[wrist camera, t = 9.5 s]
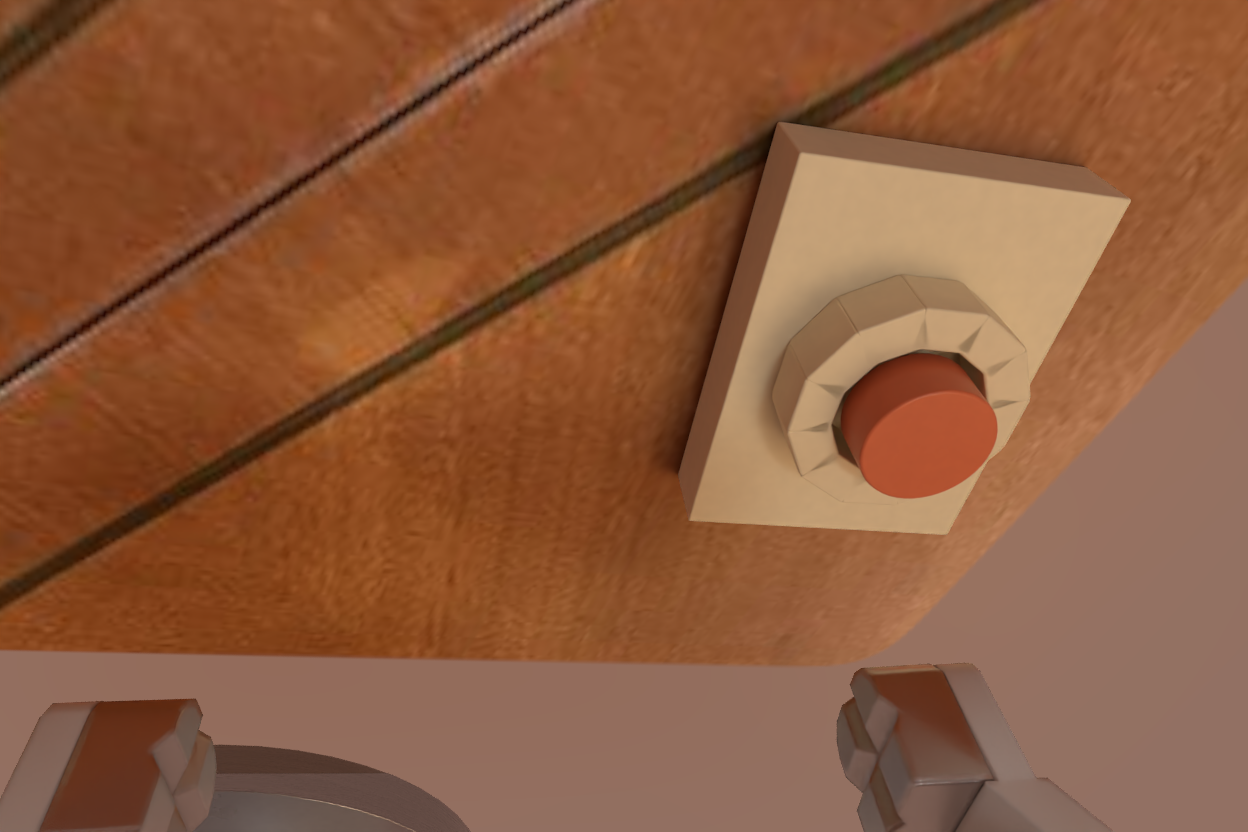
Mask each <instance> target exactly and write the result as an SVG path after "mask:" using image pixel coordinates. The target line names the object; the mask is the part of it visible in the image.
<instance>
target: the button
mask: <svg viewBox="0 0 1248 832" xmlns="http://www.w3.org/2000/svg"><path fill="white" fill-rule="evenodd" d="M841 430H842V433H843V436H844V439H845V441H846V443H847V445H848V447H849V449H850V451H851V453H852V455H853V457H854V459H855V461H856V463H857V465H858V467H859V469H860V471H861V473H862V475H863V477H864V478H865V480H866V481H867V482H868V484H869V485H870V486H872V487H873V488H874V489H876V490H877V491H879V492H881V493H883V494H885V495H888V496H891V497H895V498H903V499H914V498H922V497H928V496H932V495H935V494H939V493H941V492H944V491H946V490H949V489H951V488H953V487H955V486H956V485H958V484H960V483H962V482H963V481H964V480H966V479H967V478H969V477H970V476H971V475H972V474H974V473H975V472H976V471H977V470H978V469H979V468H980V467H981V466H982V465H983V463H984V462H985V461H986V460H987V458H988V456H989V455H990V453H991V452H992V449H993V447H994V445H995V442H996V439H997V432H998V425H997V418H996V415H995V413H994V410H993V409H992V407H991V406H990V404H989V403H988V402H987V400H986V399H985V398H984V396H983V395H982V394H981V392H980V391H979V389H978V388H977V387H976V385H975V384H974V383H973V381H972V380H971V379H970V377H969V376H968V375H967V373H966V372H965V370H964V369H963V368H962V367H961V366H960V365H959V364H957V363H956V362H954V361H953V360H951V359H949V358H947V357H943V356H940V355H936V354H930V353H917V354H909V355H904V356H901V357H897V358H894V359H892V360H889V361H887V362H885V363H883V364H881V365H879V366H877V367H876V368H874V369H873V370H871V371H870V372H869V373H867V374H866V375H865V376H864V377H863V378H862V379H861V380H860V381H859V382H857V384H856V385H855V386H854V387H853V389H852V390H851V392H850V393H849V395H848V396H847V398H846V400H845V402H844V405H843V408H842V413H841Z"/></svg>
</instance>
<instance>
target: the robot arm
mask: <svg viewBox="0 0 1248 832" xmlns="http://www.w3.org/2000/svg"><path fill="white" fill-rule="evenodd" d="M850 686H851V689H852V692H853V695H854V697H853V698H852V699H850V700H849V701H848V702H846V703H845V704H843V705H842V707H841V710H840V713H839V717H838V720H837V746H838V751H839V756H840V760H841V764H842V767H843V770H844V773H845V776H846V778H847V779H848V780H849V781H850V782H851V783H852V784H854V785H855V786H856V787H857V788H858V789H859V790H860V791H861V792H862V793H863V794H862V797H861V800H860V803H859V806H858V809H857V812H858V815H859V818H860V821H861V824H862V827H863V830H864V832H1114V831H1113V830H1112V829H1110V828H1109V827H1108V826H1107V825H1106V824H1104V823H1103V822H1102V821H1101V820H1099V819H1098V818H1097V817H1096V816H1094V815H1093V814H1092V813H1090V812H1089V811H1088V810H1087V809H1086V808H1084V807H1083V806H1082V805H1080V804H1079V803H1078V802H1077V801H1076V800H1074V799H1073V798H1072V797H1071V796H1069V795H1068V794H1067V793H1065V792H1064V791H1063V790H1062V789H1061V788H1059V787H1058V786H1057V785H1056V784H1054V783H1053V782H1052V781H1051V780H1049V779H1048V778H1036V776H1035V775H1034V773H1033V771H1032V769H1031V767H1030V765H1029V763H1028V761H1027V759H1026V757H1025V756H1024V754H1023V752H1022V750H1021V748H1020V746H1019V744H1018V742H1017V740H1016V738H1015V736H1014V735H1013V733H1012V731H1011V729H1010V727H1009V725H1008V723H1007V721H1006V719H1005V718H1004V716H1003V714H1002V712H1001V710H1000V708H999V707H998V704H997V702H996V701H995V699H994V697H993V695H992V693H991V691H990V689H989V687H988V686H987V683H986V682H985V680H984V678H983V676H982V674H981V672H980V670H978V669H977V668H976V667H975V666H974V665H973V664H969V663H955V664H939V665H931V664H918V665H903V666H886V667H870V668H861V669H859V670H858V671H856V672H855V673H854V676H853V678H852V681H851V683H850ZM202 716H203V714H202V712H201V710H200V707H199V705H198V702H197V700H196V699H172V700H139V701H111V702H104V701H96V702H73V703H53V704H52V705H51V706H50V707H49V708H48V709H47V710H46V712H45V713H44V714H43V715H42V716H41V717H40V718H39V720H38V722H37V724H36V726H35V728H34V730H33V732H32V734H31V737H30V739H29V741H28V743H27V745H26V747H25V749H24V751H23V753H22V755H21V757H20V759H19V762H18V764H17V765H16V767H15V769H14V772H13V774H12V776H11V778H10V780H9V782H8V784H7V786H6V788H5V790H4V792H3V794H2V796H1V798H0V832H193V831H194V830H195V829H196V828H197V827H198V826H199V825H200V824H201V823H202V822H203V821H204V820H205V819H206V818H207V817H208V813H209V810H210V806H211V802H212V798H213V794H214V787H215V778H216V768H217V765H216V755H215V748H214V745H213V742H212V739H211V737H210V736H208V735H206V734H205V733H203V732H201V731H200V730H198V729H199V726H200V723H201V720H202Z"/></svg>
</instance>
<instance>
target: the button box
mask: <svg viewBox="0 0 1248 832" xmlns="http://www.w3.org/2000/svg"><path fill="white" fill-rule="evenodd" d="M1130 202H1131V199H1129V198H1128V197H1127V196H1125V195H1124V194H1123V193H1121V192H1120V191H1118V190H1117V189H1116V188H1114V187H1113V186H1112V185H1110V184H1109V183H1107V182H1106V181H1105V180H1103V179H1102V178H1100V177H1099V176H1098V175H1096V174H1095V173H1094V172H1092V171H1091V170H1089V169H1088V168H1087V167H1080V166H1073V165H1067V164H1060V163H1053V162H1047V161H1040V160H1033V159H1027V158H1020V157H1013V156H1006V155H1000V154H993V153H986V152H980V151H973V150H966V149H960V148H953V147H946V146H939V145H933V144H926V143H919V142H913V141H906V140H899V139H893V138H886V137H879V136H872V135H866V134H859V133H852V132H846V131H839V130H832V129H826V128H819V127H812V126H805V125H799V124H792V123H785V122H778V123H777V126H776V130H775V133H774V137H773V140H772V144H771V147H770V151H769V154H768V158H767V161H766V165H765V169H764V172H763V176H762V179H761V183H760V186H759V190H758V193H757V197H756V200H755V204H754V208H753V211H752V215H751V218H750V222H749V225H748V229H747V232H746V236H745V239H744V243H743V247H742V250H741V254H740V257H739V261H738V264H737V268H736V271H735V275H734V278H733V282H732V286H731V289H730V293H729V296H728V300H727V303H726V307H725V310H724V314H723V317H722V321H721V325H720V328H719V332H718V335H717V339H716V342H715V346H714V349H713V353H712V356H711V360H710V364H709V367H708V371H707V374H706V378H705V381H704V385H703V388H702V392H701V395H700V399H699V403H698V406H697V410H696V413H695V417H694V420H693V424H692V427H691V431H690V434H689V438H688V441H687V445H686V449H685V452H684V456H683V459H682V463H681V466H680V470H679V473H678V478H679V482H680V486H681V490H682V494H683V499H684V503H685V507H686V511H687V516H688V520H689V521H703V522H721V523H739V524H758V525H776V526H794V527H812V528H830V529H848V530H867V531H885V532H903V533H921V534H939V535H947V534H948V532H949V530H950V528H951V526H952V525H953V523H954V521H955V519H956V517H957V516H958V514H959V512H960V510H961V508H962V507H963V505H964V503H965V501H966V499H967V497H968V496H969V494H970V492H971V490H972V488H973V487H974V485H975V483H976V481H977V479H978V478H979V476H980V474H981V472H982V470H983V468H984V467H985V465H986V463H987V461H988V460H989V459H991V458H992V457H993V456H994V455H996V454H997V453H998V452H1000V451H1001V450H1002V448H1003V447H1004V446H1005V445H1006V443H1007V441H1008V439H1009V437H1010V436H1011V434H1012V432H1013V430H1014V428H1015V427H1016V425H1017V423H1018V421H1019V420H1020V418H1021V416H1022V414H1023V412H1024V411H1025V409H1026V407H1027V405H1028V403H1029V401H1030V399H1029V398H1030V383H1031V381H1032V380H1033V378H1034V376H1035V374H1036V372H1037V371H1038V369H1039V367H1040V365H1041V363H1042V361H1043V360H1044V358H1045V356H1046V354H1047V352H1048V351H1049V349H1050V347H1051V345H1052V343H1053V341H1054V340H1055V338H1056V336H1057V334H1058V332H1059V331H1060V329H1061V327H1062V325H1063V323H1064V322H1065V320H1066V318H1067V316H1068V314H1069V312H1070V311H1071V309H1072V307H1073V305H1074V303H1075V302H1076V300H1077V298H1078V296H1079V294H1080V293H1081V291H1082V289H1083V287H1084V285H1085V283H1086V282H1087V280H1088V278H1089V276H1090V274H1091V273H1092V271H1093V269H1094V267H1095V265H1096V264H1097V262H1098V260H1099V258H1100V256H1101V254H1102V253H1103V251H1104V249H1105V247H1106V245H1107V244H1108V242H1109V240H1110V238H1111V236H1112V234H1113V233H1114V231H1115V229H1116V227H1117V225H1118V224H1119V222H1120V220H1121V218H1122V216H1123V215H1124V213H1125V211H1126V209H1127V207H1128V205H1129V204H1130ZM917 353H930V354H936V355H940V356H943V357H947V358H949V359H951V360H953V361H954V362H956V363H957V364H959V365H960V366H961V367H962V368H963V369H964V370H965V372H966V373H967V375H968V376H969V377H970V379H971V380H972V381H973V383H974V384H975V385H976V387H977V388H978V389H979V391H980V392H981V394H982V395H983V396H984V398H985V399H986V400H987V402H988V403H989V404H990V406H991V407H992V409H993V410H994V413H995V415H996V418H997V425H998V432H997V439H996V442H995V445H994V447H993V449H992V452H991V453H990V455H989V456H988V458H987V460H986V461H985V462H984V463H983V465H982V466H981V467H980V468H979V469H978V470H977V471H976V472H975V473H974V474H972V475H971V476H970V477H969V478H967V479H966V480H964V481H963V482H962V483H960V484H958V485H956V486H955V487H953V488H951V489H949V490H946V491H944V492H941V493H939V494H935V495H932V496H928V497H922V498H914V499H903V498H895V497H891V496H888V495H885V494H883V493H881V492H879V491H877V490H876V489H874V488H873V487H872V486H870V485H869V484H868V482H867V481H866V480H865V478H864V477H863V475H862V473H861V471H860V469H859V467H858V465H857V463H856V461H855V459H854V457H853V455H852V453H851V451H850V449H849V447H848V445H847V443H846V441H845V439H844V436H843V433H842V430H841V413H842V408H843V405H844V402H845V400H846V398H847V396H848V395H849V393H850V392H851V390H852V389H853V387H854V386H855V385H856V384H857V382H859V381H860V380H861V379H862V378H863V377H864V376H865V375H866V374H867V373H869V372H870V371H871V370H873V369H874V368H876V367H877V366H879V365H881V364H883V363H885V362H887V361H889V360H892V359H894V358H897V357H901V356H904V355H909V354H917Z"/></svg>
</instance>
